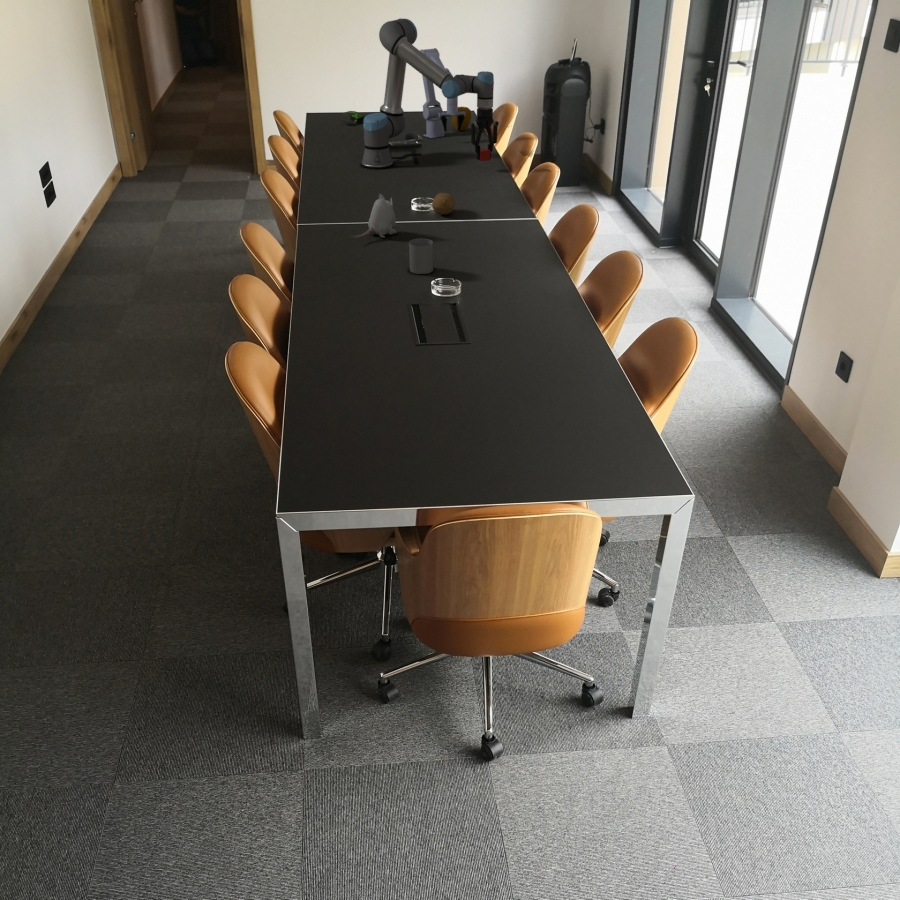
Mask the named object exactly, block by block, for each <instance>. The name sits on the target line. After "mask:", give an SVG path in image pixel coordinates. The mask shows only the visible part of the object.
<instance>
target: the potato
mask: <svg viewBox="0 0 900 900" xmlns="http://www.w3.org/2000/svg"><path fill="white" fill-rule="evenodd" d="M455 206H456V200H455V198H454V196H452V195H451V194H449V193H448V192H439V193H437V194H436V195H435V197H434V198H433V200H432V201H431V207H432V209H433V210H434V212H436V213H437V214H439V215H441V216H442V215H449V214H450V213H452V212H453V211H454V209H455Z"/></svg>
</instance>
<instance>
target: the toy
mask: <svg viewBox="0 0 900 900" xmlns="http://www.w3.org/2000/svg"><path fill="white" fill-rule="evenodd" d="M396 222H397V219H396V215H395V211H394V202H393V199H392V197H390V200H387V199H385V196H384V195H383V194H382V193H379V194H378V199H376V200H375V201H374V203H373V206H372V208H371V212H370V217H369V219H368V223H367V224H368V225H367V226H368V229H367V231H365V232H363V233H362V234H358V235H350V238H351V237H352V238H363V237H365V236H367V235H369V234H370V235H375V234H377V235H379V238H382V239H385V238H386V236H385V235H387V234H388V235H394V234H397V233H398V231H397V230H396V229H394V228H395V227H396V225H397V224H396Z"/></svg>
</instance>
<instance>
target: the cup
mask: <svg viewBox="0 0 900 900" xmlns="http://www.w3.org/2000/svg"><path fill="white" fill-rule="evenodd" d="M408 253H409V272H411V273H412V274H416V275H426V274H430V273H432V272H434V241H433V240H431V239H428V238H422V237H421V238H420V237H419V238H414V239H411V240H410V241H409V242H408Z"/></svg>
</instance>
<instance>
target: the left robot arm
mask: <svg viewBox="0 0 900 900" xmlns="http://www.w3.org/2000/svg"><path fill="white" fill-rule="evenodd" d="M417 38H418V30H417V26H416V25H415V23H414V22H413V21H412V20H411V19H409V18H401V17H400V18H398V19H393V20H388V21H386V22H384V23H383V24H382V25H381V27H380V28H379V32H378V39H379V42H380V44H381V45H382V47H383V48H384V49H385V50H386V51H388V53H389V54H388V62H387V63H388V64H387V70H386V71H387V72H386V80H385V91H384V99H383V104H382V105H380V107H379V112H373V113H369V114H367V115H364V116H365V118H364V121H363V124H362V126H363V138H364V139H363V140H364V151H363V155H362V159H361V166H362V167H363V168H366V169H371V170H381V169H387V168H390V167H392V166H394V161H393V160H401V159H403V158H405V157H408V156H421V155H422V154H421V152H418V153H417V152H415V153H414V152H413V153H405V154H403V155H402V156H392V155H391V152H390V151H391V150H390V147H389V145H390V144H389V140H390V139H392V138H396V137H398V136H399V135H401V134H402V133H403V132H404V130H405V129H406V126H407V120H406V117H405V114H404V109H403V108H402V102H403V94H404V86H405V78H406V70H407V64H408V65H409V66H410V67H411V68H412V69H414V70H415V71H417V72H418V73H419V74H420V75H421V76H422V75H423V76H425V77H426V78H427V79H428V80H430V81H431V82H432V83H433V85H434V86H436V87H437V88H439V89H440V90H441V93H442V95H443V97H444V98H445V99H447V98H448V99H452V98H456V97H458V98H459V96H462V95H465V94H475V95H476V101H477V102H476V107H477V108H476V119H475V121H473V122H471V121H470V124H469V125H470V127H471V133H470V135H471V139H470V143H471V144H472V145H473V146H474V152H475V153H476V160H477V161H480V148H481V145H480V141H481V138H482V134H483V131H484V130H486V133H487V138H488V142H489V143H488V144H487V148H488V149H489V150H490V160H492V152H493V151H494V145H495V144H497V143H498V126H499V125H500V124H499V123H500V122H499V121H497V120H494V117H493V116H494V108H493V107H494V89H495V87H494V85H495V79H494V77H495V76H494V75H495V74H494V73H493V72H492V71H487V70H486V71H485V70H483V71H479V72H477V75H469V74H455V75H453V76H451V75H450V74H449V73H448V72H446V71H445V70H444V69H442V68H441V67H440V66H439V65H437V64H436V63H435V62H433V61H432V60H431V59H430V58H428V57H427V56H426V55H425V54H423V53H422V52H421V51H420V50H419V48H417V47H416V46H415V45H414V44H415V42H416V41H417ZM492 125H493V128H491V127H492ZM477 126H478V127H477ZM492 129H493V130H492ZM476 130H477V131H476ZM476 132H477V133H476Z"/></svg>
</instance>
